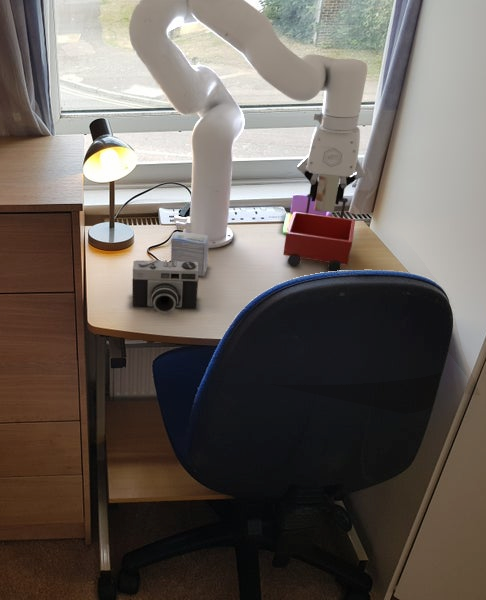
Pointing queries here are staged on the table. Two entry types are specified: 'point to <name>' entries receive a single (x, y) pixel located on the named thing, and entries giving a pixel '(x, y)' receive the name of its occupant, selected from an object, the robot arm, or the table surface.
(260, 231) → the table surface
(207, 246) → the medicine box
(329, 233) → the cart
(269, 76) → the robot arm
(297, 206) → the miniature room corner
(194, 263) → the camera
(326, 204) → the white carton box
